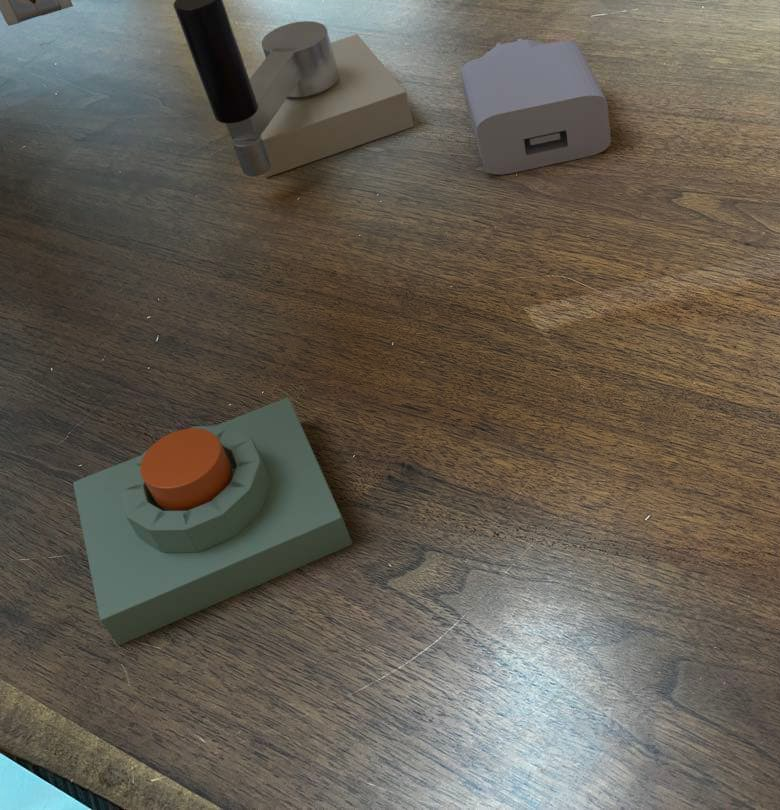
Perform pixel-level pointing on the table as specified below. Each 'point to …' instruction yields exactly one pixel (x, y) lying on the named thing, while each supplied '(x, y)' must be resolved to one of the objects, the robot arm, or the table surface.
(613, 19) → the table surface
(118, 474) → the button box
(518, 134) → the charger
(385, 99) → the crank base
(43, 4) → the robot arm
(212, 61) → the crank handle
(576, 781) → the table surface
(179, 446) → the button
